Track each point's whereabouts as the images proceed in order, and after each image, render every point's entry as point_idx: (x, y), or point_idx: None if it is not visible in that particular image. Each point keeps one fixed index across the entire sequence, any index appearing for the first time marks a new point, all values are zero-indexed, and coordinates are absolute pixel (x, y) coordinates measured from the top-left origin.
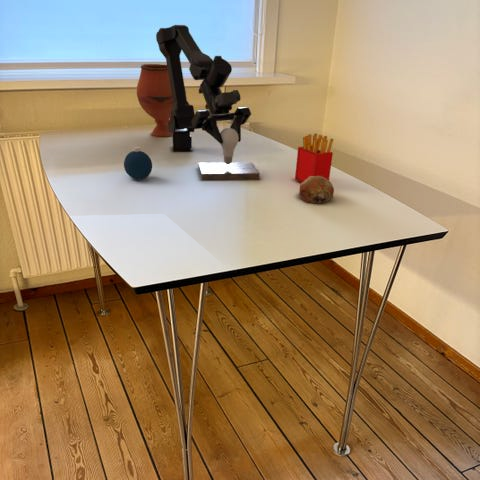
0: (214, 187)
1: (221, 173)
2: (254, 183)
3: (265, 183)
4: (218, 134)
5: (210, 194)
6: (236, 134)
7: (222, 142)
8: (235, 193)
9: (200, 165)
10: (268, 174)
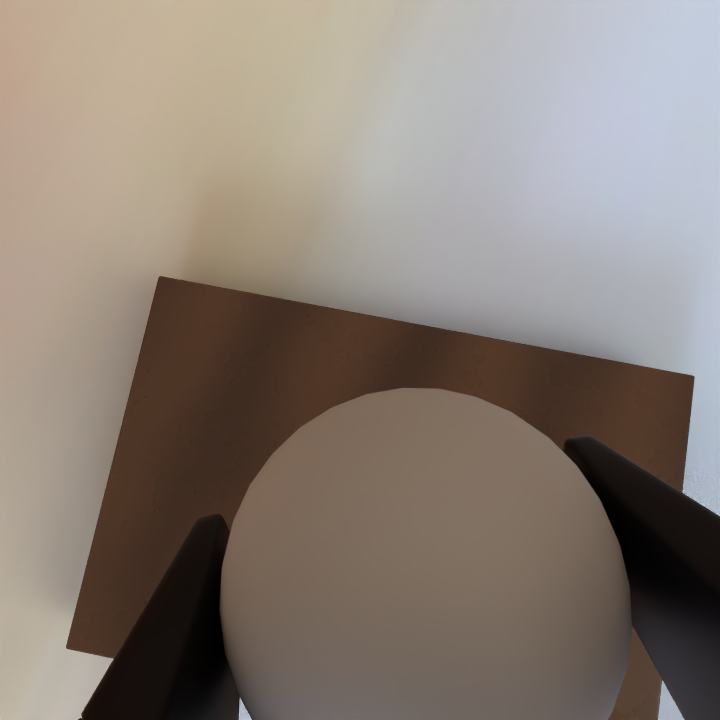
0: (600, 190)
1: (508, 346)
2: (253, 211)
3: (166, 192)
4: (706, 517)
5: (668, 53)
6: (296, 458)
7: (572, 437)
8: (481, 33)
9: (649, 663)
10: (28, 415)
